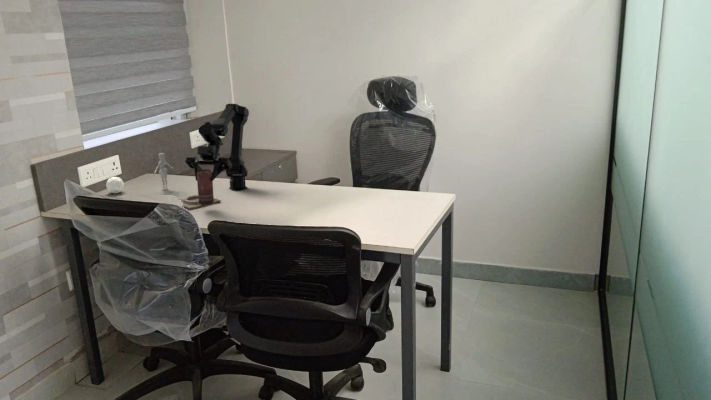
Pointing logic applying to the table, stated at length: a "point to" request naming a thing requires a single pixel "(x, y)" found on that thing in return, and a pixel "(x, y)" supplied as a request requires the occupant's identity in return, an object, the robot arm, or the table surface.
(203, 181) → the can
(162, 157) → the human figurine
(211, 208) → the table surface
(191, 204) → the cup holder
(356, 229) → the table surface
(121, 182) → the geometric ball
